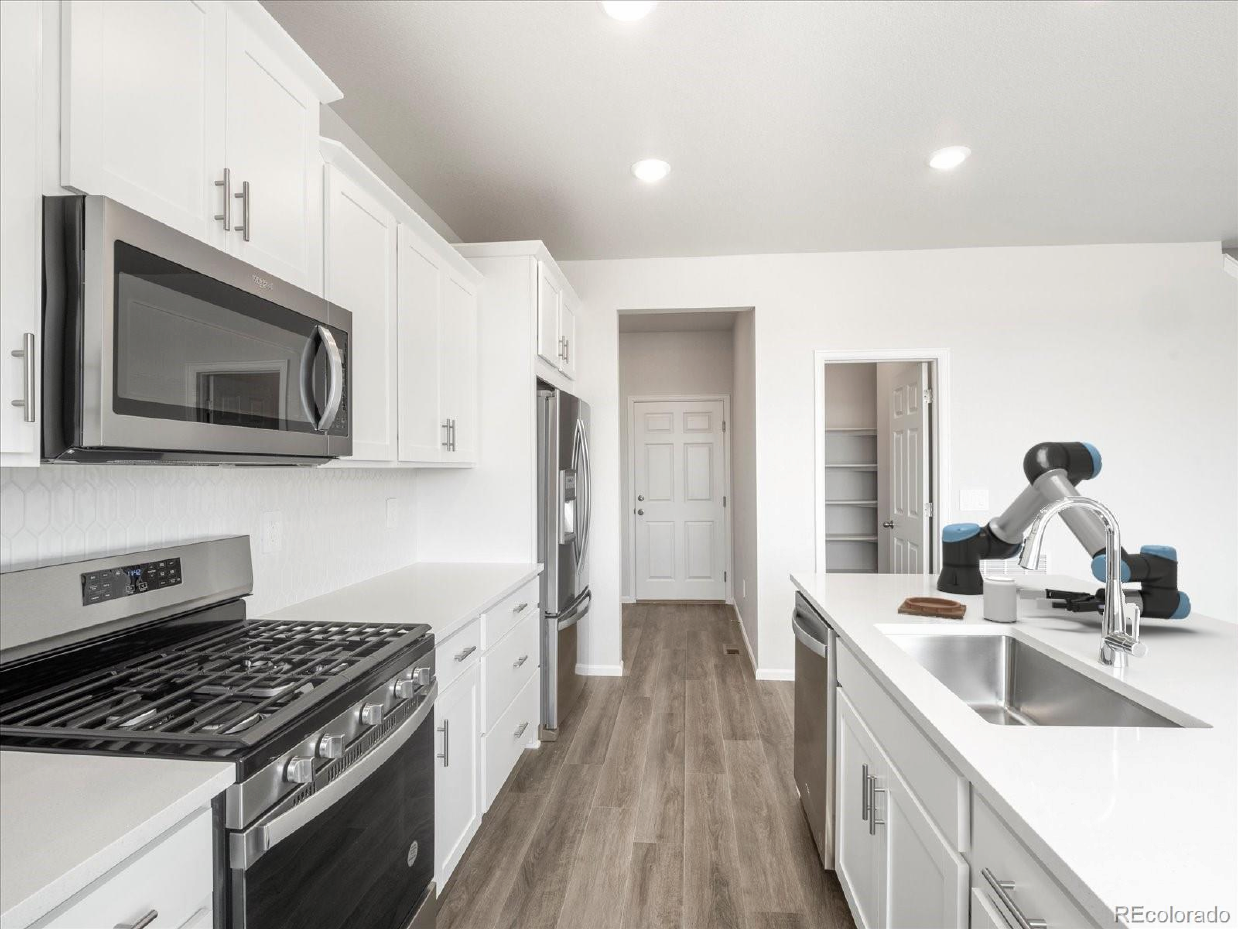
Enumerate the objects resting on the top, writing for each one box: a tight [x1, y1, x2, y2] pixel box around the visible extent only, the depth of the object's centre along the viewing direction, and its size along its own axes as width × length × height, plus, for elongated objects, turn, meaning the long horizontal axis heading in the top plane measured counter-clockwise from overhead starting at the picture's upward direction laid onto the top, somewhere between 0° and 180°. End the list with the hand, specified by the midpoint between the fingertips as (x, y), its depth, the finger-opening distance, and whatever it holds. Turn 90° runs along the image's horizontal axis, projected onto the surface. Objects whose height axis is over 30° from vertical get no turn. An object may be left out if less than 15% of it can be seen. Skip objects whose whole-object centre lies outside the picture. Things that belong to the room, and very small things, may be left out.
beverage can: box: [983, 575, 1018, 623], centre depth 182 cm, size 8×8×12 cm
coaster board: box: [897, 596, 967, 620], centre depth 194 cm, size 17×17×3 cm
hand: (1028, 598), depth 180 cm, fingers open, 13 cm apart
